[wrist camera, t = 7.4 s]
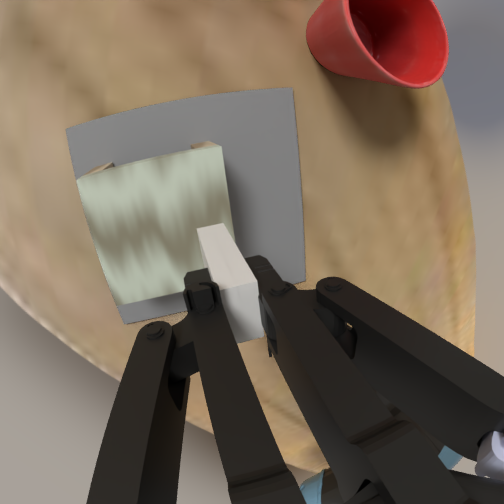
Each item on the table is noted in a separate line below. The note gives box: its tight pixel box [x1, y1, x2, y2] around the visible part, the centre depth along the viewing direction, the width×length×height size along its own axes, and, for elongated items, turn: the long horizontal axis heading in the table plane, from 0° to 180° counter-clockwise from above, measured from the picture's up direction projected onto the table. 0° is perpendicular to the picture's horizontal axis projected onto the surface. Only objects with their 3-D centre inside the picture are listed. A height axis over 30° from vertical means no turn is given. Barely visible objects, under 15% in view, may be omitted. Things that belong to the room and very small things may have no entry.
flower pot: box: [306, 0, 449, 88], centre depth 19 cm, size 11×11×10 cm
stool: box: [76, 141, 236, 306], centre depth 23 cm, size 10×6×10 cm
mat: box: [66, 88, 306, 324], centre depth 27 cm, size 20×20×1 cm
